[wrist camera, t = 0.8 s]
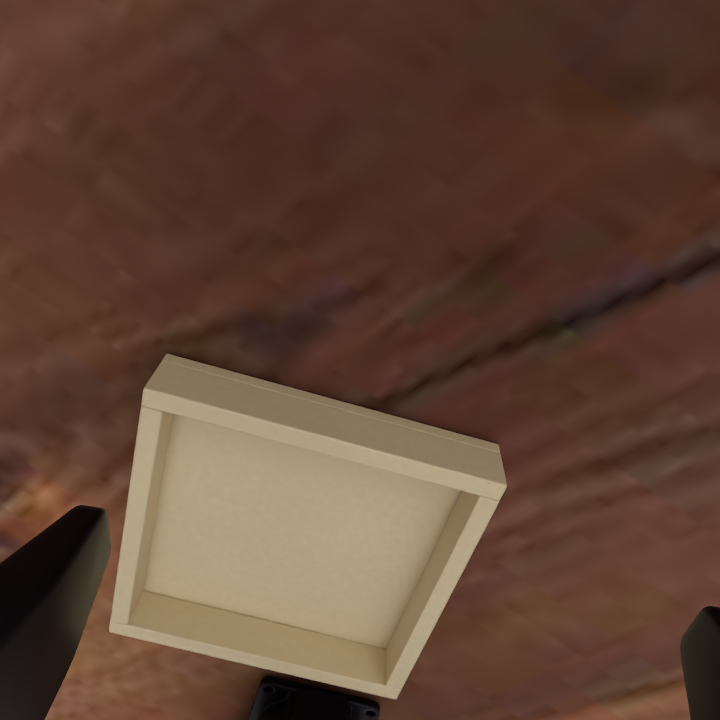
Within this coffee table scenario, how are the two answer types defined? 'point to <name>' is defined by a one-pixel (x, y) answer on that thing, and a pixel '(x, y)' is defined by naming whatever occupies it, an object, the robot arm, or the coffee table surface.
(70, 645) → the robot arm
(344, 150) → the coffee table surface
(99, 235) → the coffee table surface
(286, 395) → the tray
